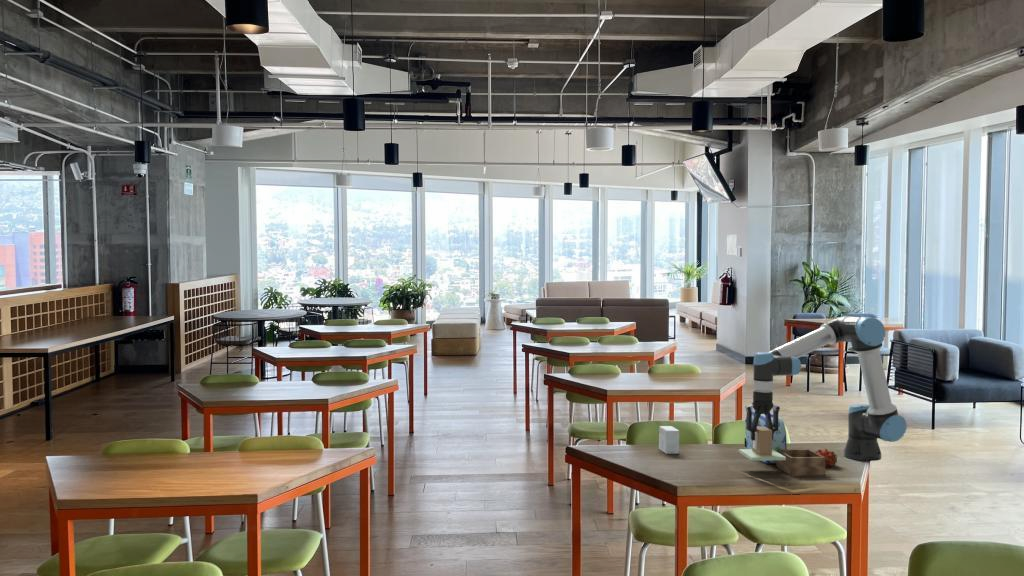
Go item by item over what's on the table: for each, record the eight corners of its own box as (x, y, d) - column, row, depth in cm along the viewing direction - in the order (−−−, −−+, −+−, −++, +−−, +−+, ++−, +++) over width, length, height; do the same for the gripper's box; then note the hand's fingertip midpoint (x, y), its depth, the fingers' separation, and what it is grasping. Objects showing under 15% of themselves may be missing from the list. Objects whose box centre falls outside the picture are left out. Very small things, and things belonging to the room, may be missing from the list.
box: (809, 468, 329) (809, 449, 328) (824, 477, 315) (825, 457, 314) (776, 468, 327) (776, 449, 327) (790, 478, 313) (791, 458, 313)
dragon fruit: (840, 472, 329) (811, 476, 328) (831, 456, 335) (803, 460, 335) (843, 458, 323) (814, 463, 323) (834, 442, 330) (806, 447, 330)
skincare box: (679, 453, 353) (680, 430, 352) (665, 454, 352) (666, 430, 352) (672, 448, 363) (672, 425, 363) (658, 448, 362) (658, 425, 362)
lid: (771, 451, 327) (772, 424, 327) (785, 460, 313) (786, 432, 313) (738, 452, 326) (739, 425, 326) (751, 460, 312) (751, 432, 312)
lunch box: (741, 452, 355) (742, 406, 354) (765, 452, 356) (766, 406, 355) (763, 467, 329) (764, 417, 328) (788, 467, 330) (789, 417, 329)
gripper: (780, 389, 323) (779, 445, 324) (737, 389, 322) (736, 446, 322) (788, 392, 316) (787, 450, 316) (744, 392, 314) (743, 450, 315)
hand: (761, 448), depth 319 cm, fingers closed on lid, 5 cm apart
